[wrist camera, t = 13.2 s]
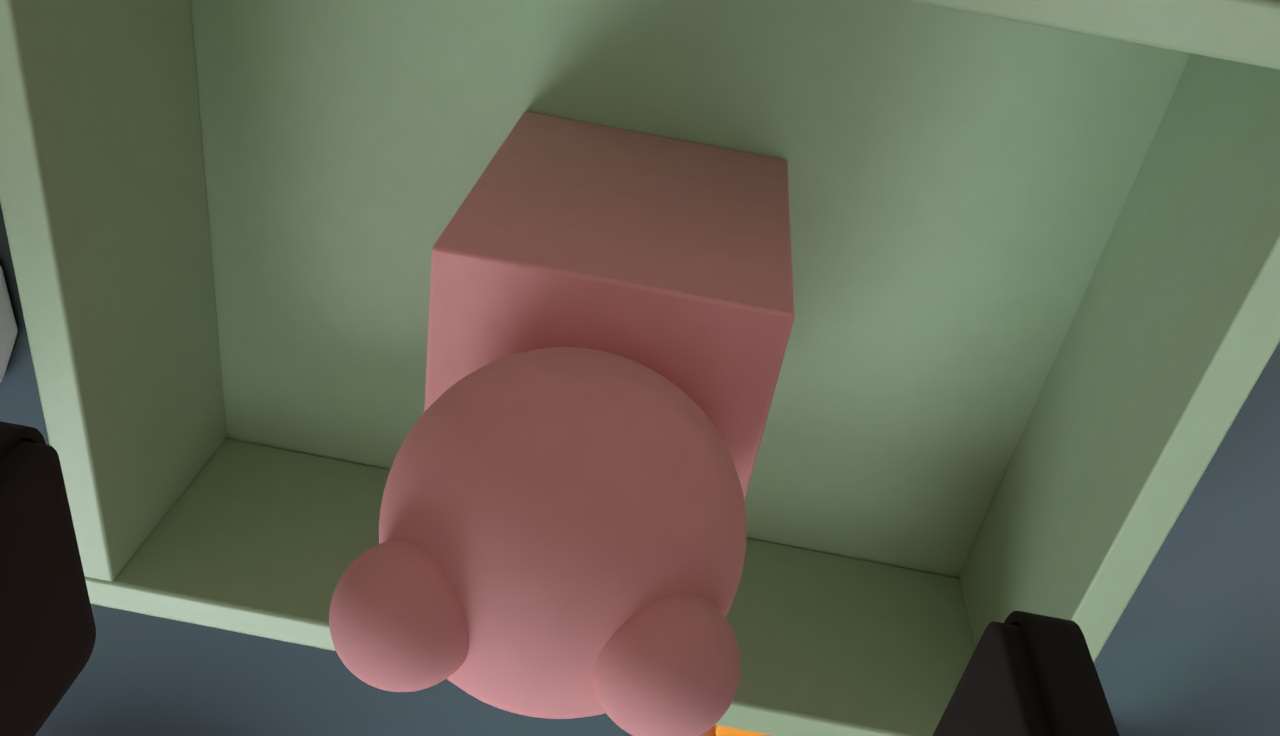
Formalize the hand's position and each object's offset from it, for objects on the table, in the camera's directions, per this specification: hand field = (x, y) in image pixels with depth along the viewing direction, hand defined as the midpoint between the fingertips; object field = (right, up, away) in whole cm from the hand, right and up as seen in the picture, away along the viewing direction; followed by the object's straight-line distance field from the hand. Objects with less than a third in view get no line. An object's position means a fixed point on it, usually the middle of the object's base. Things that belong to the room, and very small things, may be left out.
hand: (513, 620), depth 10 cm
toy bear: (+1, +4, +8) cm, 10 cm away
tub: (+1, +5, +9) cm, 10 cm away
